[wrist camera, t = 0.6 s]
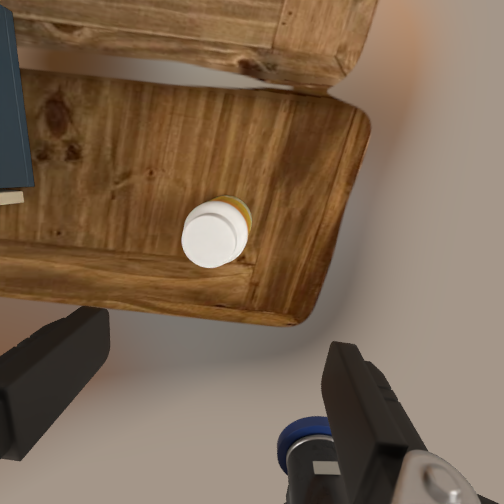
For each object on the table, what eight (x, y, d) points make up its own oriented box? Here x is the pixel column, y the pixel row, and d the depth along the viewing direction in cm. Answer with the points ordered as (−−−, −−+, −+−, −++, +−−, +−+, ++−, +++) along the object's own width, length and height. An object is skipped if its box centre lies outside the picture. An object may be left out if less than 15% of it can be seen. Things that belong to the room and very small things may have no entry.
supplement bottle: (219, 184, 27) (194, 189, 18) (261, 213, 28) (259, 232, 18) (193, 226, 28) (158, 251, 19) (234, 253, 29) (220, 290, 20)
